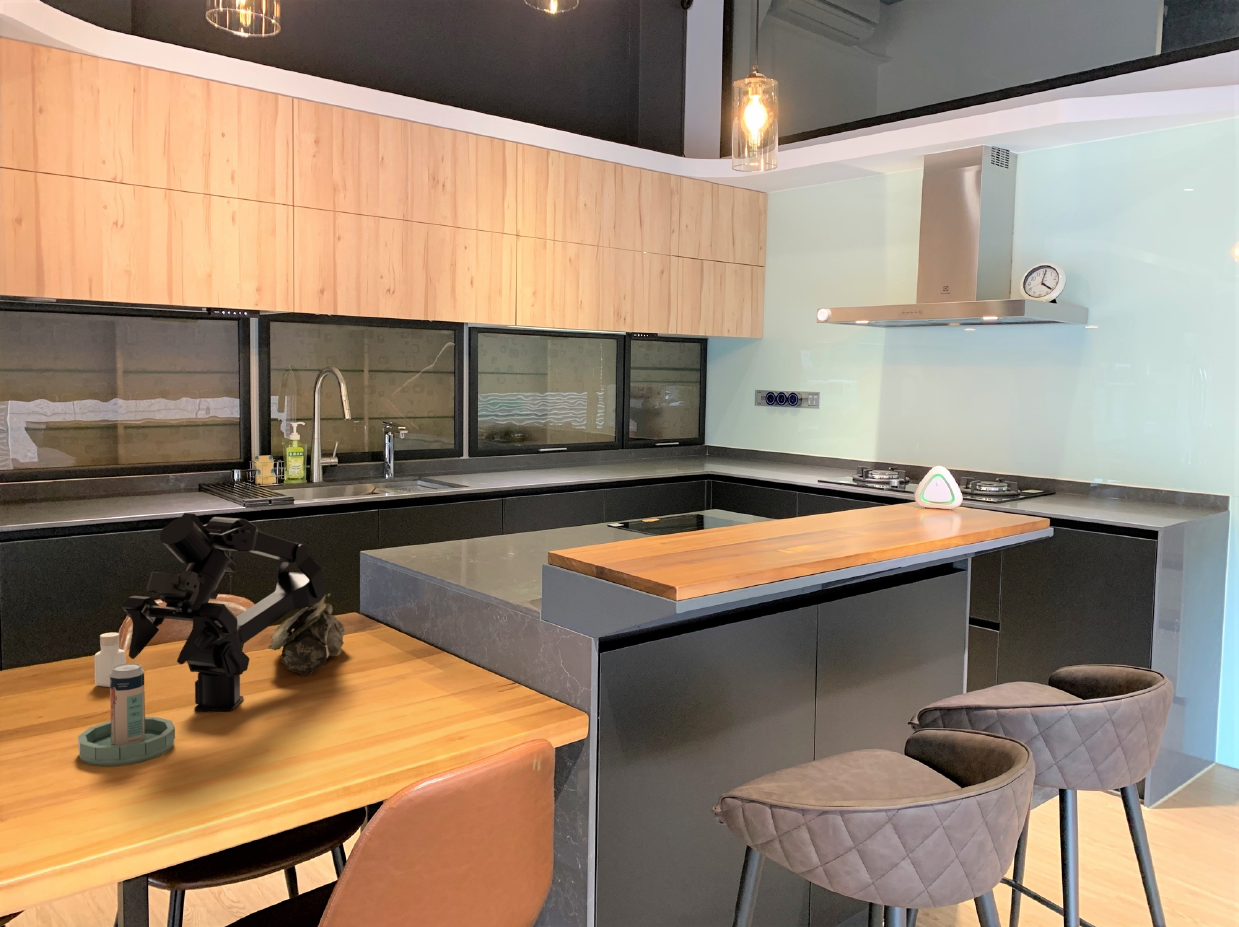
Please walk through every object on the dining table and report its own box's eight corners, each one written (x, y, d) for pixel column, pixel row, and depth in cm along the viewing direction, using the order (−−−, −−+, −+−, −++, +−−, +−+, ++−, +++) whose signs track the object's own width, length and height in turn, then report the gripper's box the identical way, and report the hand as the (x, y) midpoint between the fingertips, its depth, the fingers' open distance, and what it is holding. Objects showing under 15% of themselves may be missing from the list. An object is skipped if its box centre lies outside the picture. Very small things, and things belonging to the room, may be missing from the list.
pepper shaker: (112, 688, 173) (111, 638, 172) (93, 686, 174) (92, 636, 173) (127, 681, 177) (126, 632, 176) (109, 680, 178) (108, 631, 177)
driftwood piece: (300, 707, 179) (356, 651, 180) (249, 663, 177) (306, 607, 177) (323, 660, 207) (372, 612, 207) (280, 622, 204) (329, 573, 205)
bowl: (186, 733, 152) (186, 716, 152) (153, 765, 139) (152, 747, 139) (104, 733, 151) (103, 717, 151) (62, 766, 138) (61, 748, 138)
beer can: (122, 736, 148) (120, 661, 147) (151, 737, 147) (150, 663, 146) (104, 747, 143) (102, 671, 142) (134, 749, 143) (133, 672, 142)
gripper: (129, 548, 156) (77, 629, 146) (225, 555, 151) (178, 640, 142) (164, 585, 164) (117, 664, 154) (256, 593, 160) (214, 675, 150)
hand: (154, 660), depth 150 cm, fingers open, 9 cm apart
